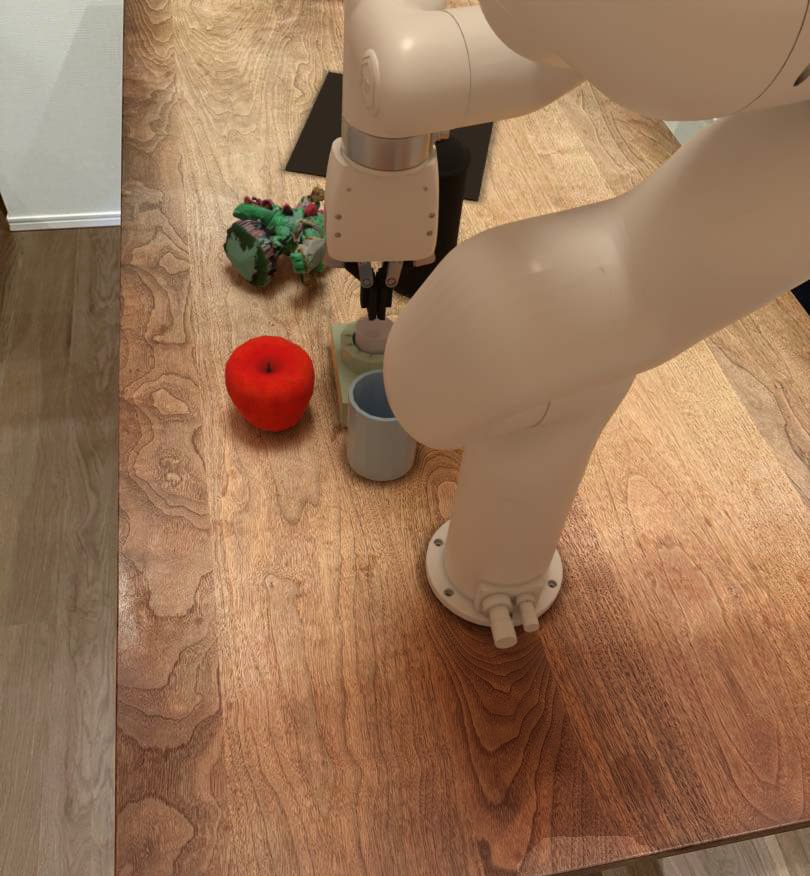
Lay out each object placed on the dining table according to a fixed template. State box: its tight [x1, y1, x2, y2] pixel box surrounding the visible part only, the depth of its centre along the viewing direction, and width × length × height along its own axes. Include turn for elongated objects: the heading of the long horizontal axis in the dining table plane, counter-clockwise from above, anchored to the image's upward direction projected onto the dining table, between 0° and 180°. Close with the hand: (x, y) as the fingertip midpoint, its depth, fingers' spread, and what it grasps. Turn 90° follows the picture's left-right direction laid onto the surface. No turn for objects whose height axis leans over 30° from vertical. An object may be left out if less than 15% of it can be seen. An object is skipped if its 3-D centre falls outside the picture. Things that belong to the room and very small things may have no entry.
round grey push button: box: [355, 314, 394, 355], centre depth 90 cm, size 4×4×2 cm
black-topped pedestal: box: [284, 71, 494, 201], centre depth 120 cm, size 28×26×13 cm
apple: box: [224, 334, 316, 433], centre depth 87 cm, size 9×9×8 cm
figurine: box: [222, 186, 327, 288], centre depth 102 cm, size 12×13×15 cm
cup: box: [346, 369, 418, 482], centre depth 85 cm, size 7×7×8 cm
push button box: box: [330, 318, 395, 428], centre depth 92 cm, size 12×8×6 cm, turn 8°
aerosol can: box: [393, 133, 472, 298], centre depth 98 cm, size 8×8×20 cm
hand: (375, 311), depth 88 cm, fingers closed
